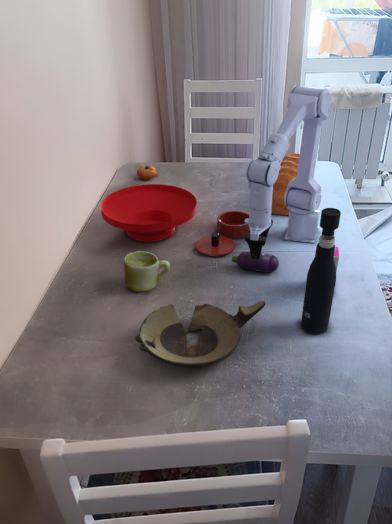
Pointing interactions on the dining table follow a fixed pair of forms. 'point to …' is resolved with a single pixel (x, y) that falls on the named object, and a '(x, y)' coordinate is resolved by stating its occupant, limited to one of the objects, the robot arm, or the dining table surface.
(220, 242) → the pot lid
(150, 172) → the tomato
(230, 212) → the pot
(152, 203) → the bowl
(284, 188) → the bread
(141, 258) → the mug
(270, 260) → the eggplant
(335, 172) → the dining table surface
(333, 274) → the black bottle
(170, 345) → the olive round shallow dish
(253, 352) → the dining table surface
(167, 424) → the dining table surface
